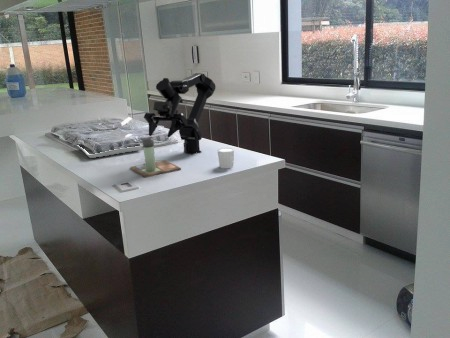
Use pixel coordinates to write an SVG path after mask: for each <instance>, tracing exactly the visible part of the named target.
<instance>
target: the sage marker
mask: <svg viewBox="0 0 450 338" xmlns="http://www.w3.org/2000/svg"><path fill="white" fill-rule="evenodd" d="M141 141H142V145H143V147H142V148H143V155H144V156H143V157H144V162H145V163H144V164H145V166H146V171H148V172H151V171H155V170H156V165H155V162H156V157H155V148H154V147H155V145H154V137H143V138H142V140H141Z"/></svg>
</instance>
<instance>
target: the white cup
mask: <svg viewBox="0 0 450 338" xmlns="http://www.w3.org/2000/svg"><path fill="white" fill-rule="evenodd" d="M217 156H218V158H217V159H218V162H219V163H218V164H219V165H218V166H219V168H221V169H231V168H233V167H234V163H235V162H234V159H235V149H234V148H229V147H227V148H225V147H224V148H220V149H218V150H217Z"/></svg>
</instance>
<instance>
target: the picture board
mask: <svg viewBox="0 0 450 338" xmlns="http://www.w3.org/2000/svg"><path fill="white" fill-rule="evenodd" d="M155 165H156V170H155V171H151V172H148V171H146V166H145V163H143V164H142V163H141V164H138V165H133V166H130V168H129V169H130V170H132V171H133V172H135V173H136V174H138V175H139V176H141V177H143V178H148V177H153V176H159V175H163V174H167V173H173V172H176V171H177V172H178V171H181V170H182V168H181V167H179V166H177V165H176V164H174V163H172V162H170V161H168V160H166V159H163V160H159V161H155Z"/></svg>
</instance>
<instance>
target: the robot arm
mask: <svg viewBox="0 0 450 338" xmlns="http://www.w3.org/2000/svg"><path fill="white" fill-rule="evenodd" d="M192 87H195V88H196V93H197V95H196V98H195V100H194V102H193V106H192V108H191V111H190V113H189V115H188V118H186V116H185V114H183V113H178V112H179V111H178V107H179V105H180V104H182V103H184V102H183V98H182V96H181V95H186V93H188V92H189V91H190V88H192ZM155 88H156V90H157V92H158V93H159V94H160V95H161V97H162V98H163V99H164V100H165V101H154V102H153V109H152V110H154V111H157V112H156V113H157V114H155V113H154V112H145V113H144V115H143V118H144V120H145V121H146V122H147V123H148V136H149V137H151V136H152V135H153V134H154V133H155V131H156V129H157V127H158V125H159V122H166V123H167V122H170V123H171V124H170V127H169V129H168V132H167V138H170V137H172V135H175V133H176V132H179V136H180V140H181V141H183V153H186V155H193V154H199V153H202V150H200V141H201V140H202V138H203V134H202V132H201V131H200V130H199V129H200V126H199V121H200V117H201V116H202V112H203V111H204V108H205V105H206V103H207V100H208V99H209V98H210V97H212V96H213V94H214V93H215V91H216V88H217V87H216V84H215V82H214V81H213V79H211V78H210V77H208V76H206V74H204V73H203V72H199V73H193V74H192V75H190V76H188V77H185V78H183V79H176V80H175V79H174V80H171V81H170V79H169V78H168V77H163V78H162V80H160V81H159V82H158V83H156V85H155Z"/></svg>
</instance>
